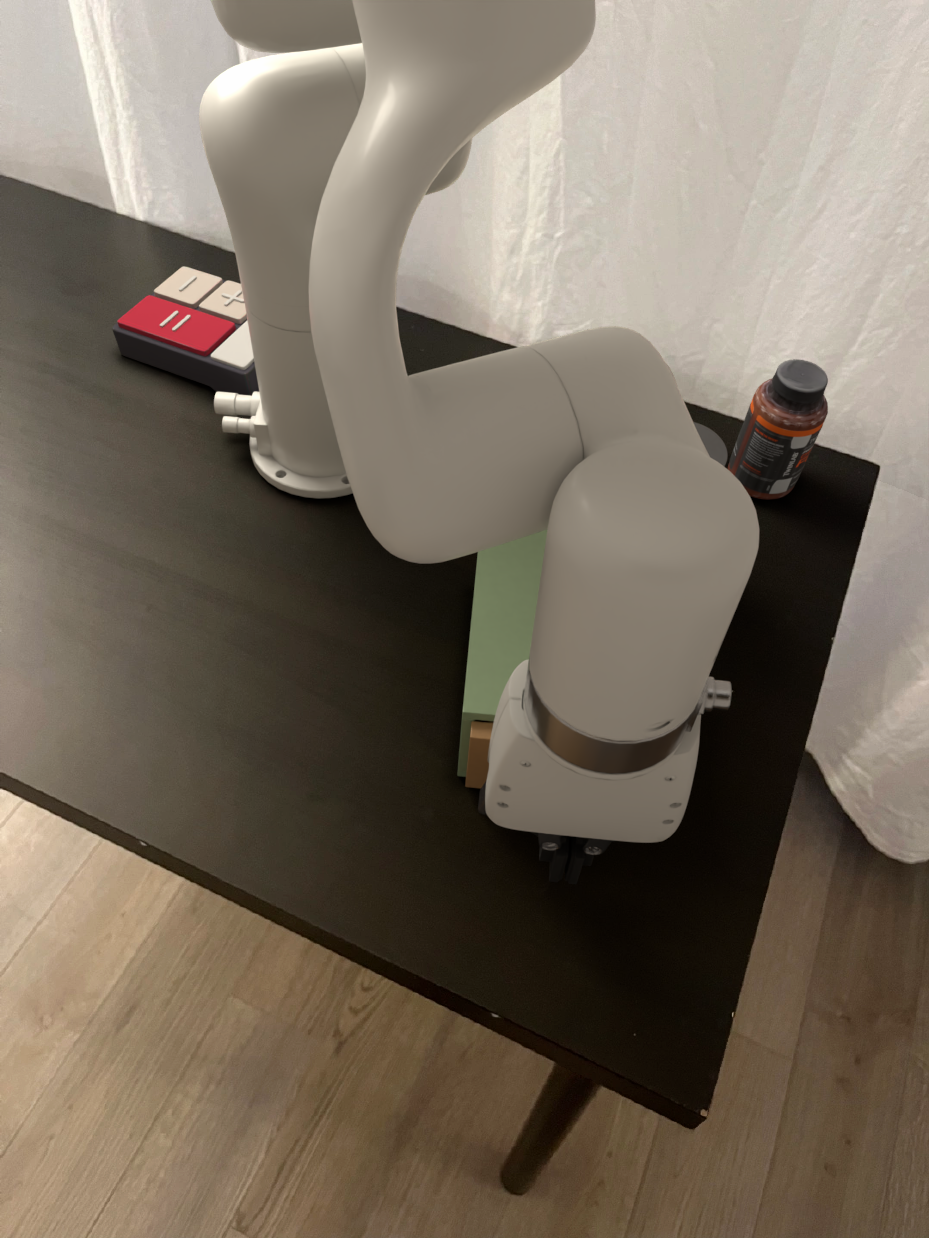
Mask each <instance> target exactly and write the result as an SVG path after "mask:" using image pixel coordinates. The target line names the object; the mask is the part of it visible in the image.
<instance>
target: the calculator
mask: <svg viewBox="0 0 929 1238" xmlns="http://www.w3.org/2000/svg"><path fill="white" fill-rule="evenodd" d="M111 329H112V333H113V335H114V339H115V341H116V344H117V347H118V350H119V352H120V355H121V356H123V357H126V358H129V359H132V360H134V361H138V362H140V363H143V364H146V365H149V366H152V367H154V368H158V369H159V370H163V371H165V372H169V373H171V374H174V375H177V376H180V377H183V378H185V379H188V380H191V381H194V382H197V383H200V384H202V385H205V386H208V387H210V388H211V389H212V390H213V391H215V393H216V392H229V393H238V394H239V395H249V396H252V394H253V392H254V391H256V392H259V387H258V381H257V375H256V369H255V363H254V357H253V351H252V345H251V339H250V333H249V327H248V321H247V315H246V309H245V303H244V299H243V293H242V287H241V283H239V282H236V281H233V280H224V279H223V278H222V277H220V276H218V275H214V274H210V273H207V272H204V271H201V270H197V269H194V268H191V267H189V266H181V267H180V268H179V269H178V270H176V271H175V272H174V273H173V274H171V275H170V276H169V277H167V278H166V279H165V280H164V281H163V282H162V283H161V284H159V285H158V286H157V287H156V288H155V289H154V290H153V292H152V293H151V294H148V295H146V296H145V297H144V298H142V299H141V300H140V301H139V302H138V303H136V304H135V305H134V306H133V307H132V308H130V309H129V310H128V311H127V312H126V313H124V314H123V315H122V316H121V317H119V318H118V319H117V320H116V323H115V324H114V325H113V326H112V327H111Z"/></svg>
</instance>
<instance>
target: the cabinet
mask: <svg viewBox="0 0 929 1238" xmlns="http://www.w3.org/2000/svg"><path fill="white" fill-rule="evenodd" d="M546 536H547V530H544V531H541V532H538V533H535V534H532V535H529V536H526V537H523V538H520V539H517V540H514V541H511V542H508V543H504V544H501V545H498V546H495V547H492V548H489V549H486V550H482V551H479V552H477V556H476V557H477V558H476V567H475V576H474V577H475V578H474V586H473V587H474V590H473V598H472V608H471V619H470V628H469V630H470V631H469V640H468V649H467V651H468V652H467V659H466V661H467V662H466V670H465V671H466V672H465V682H464V693H463V704H462V711H461V713H462V714H461V725H460V735H459V736H460V737H459V749H458V750H459V751H458V761H457V762H458V763H457V773H456V775H457V777H463V778H466V772H467V762H468V752H469V742H470V731H471V722H472V721H477V722H481V720H485V721H494V718H495V714H496V710H497V707H498V704H499V701H500V698H501V695H502V693H503V691H504V688H505V686H506V684H507V682H508V680H509V678H510V676H511V675H512V673H513V671H514V670H515V669H516V667H517V666H518V665H519V664H520V663H522V662H523V661H525V660H529V654H530V647H531V640H532V633H533V626H534V619H535V612H536V605H537V598H538V592H539V585H540V578H541V571H542V564H543V557H544V550H545V543H546Z"/></svg>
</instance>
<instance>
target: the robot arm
mask: <svg viewBox="0 0 929 1238" xmlns="http://www.w3.org/2000/svg"><path fill="white" fill-rule="evenodd" d="M210 3H211V6H212V8H213V11H214V13H215V15H216V18H217V20H218V22H219V23H220V25H221V26H222V28H223V30H224V31H225V33H226V34H227V35H228V36H229V37H230V38H231V39H233V40H234V41H235V42H236V43H237V44H239V46H242V47H244V48H247V49H248V50H252V51H254V52H259V53H267V54H271V55H266V56H262V57H258V58H253V59H250V60H246V61H244V62H242V63H238V64H236V65H232V66H231V67H229V68H228V69H227V68H226V70H225V71H223V72H221V73H220V74H218V76H216V77H215V78H214V79H213V80H212V81H211V82H210V83H209V85H208V86H207V87H206V89H205V91H204V92H203V95H202V97H201V100H200V105H199V111H198V122H199V123H198V124H199V130H200V137H201V142H202V143H201V144H202V147H203V150H204V154H205V157H206V160H207V163H208V166H209V169H210V172H211V175H212V179H213V182H214V185H215V187H216V190H217V193H218V195H219V200H220V202H221V205H222V208H223V211H224V214H225V218H226V221H227V225H228V228H229V232H230V233H229V234H230V236H231V240H232V245H233V249H234V250H233V251H234V255H235V258H236V260H235V261H236V265H237V269H238V275H239V281H240V284H241V287H242V293H243V299H244V303H245V309H246V315H247V321H248V327H249V333H250V339H251V345H252V351H253V357H254V363H255V369H256V375H257V381H258V387H259V392H256V391H254V392H253V394H252V396H249V395H239V394H238V393H229V392H216V391H215V395H214V397H213V398H214V399H213V409H214V413H215V414H216V415H221V416H222V421H221V431H222V433H227V434H228V433H229V434H247V435H249V443H248V444H249V450H250V451H249V452H250V456H251V460H252V463H253V466H254V468H255V469H256V470H257V472H258V473H259V475H260V476H261V477H262V478H263V479H264V480H265V481H266V482H267V483H269V484H270V485H271V486H273V487H275V488H276V489H278V490H280V491H283V492H285V493H287V494H290V495H294V496H299V497H301V498H310V499H335V498H338V497H339V498H341V497H344V496H345V497H346V496H348V495H352V494H353V498H354V500H355V503H356V507H357V509H358V511H359V514H360V515H361V517H362V519H363V521H364V523H365V525H366V527H367V528H368V530H369V532H370V533H371V535H372V536H373V537H374V539H375V540H376V541H377V542H378V543H379V544H380V545H381V546H382V548H384V549H385V550H386V551H387V552H388V553H389V554H391V555H393V556H395V557H397V558H398V559H401V560H403V561H407V562H410V563H415V564H421V565H422V564H425V565H426V564H428V565H429V564H430V565H431V564H438V563H444V562H447V561H451V560H455V559H459V558H462V557H466V556H469V555H472V554H476V553H478V552H479V551H482V550H486V549H489V548H492V547H495V546H498V545H501V544H504V543H508V542H511V541H514V540H517V539H520V538H523V537H526V536H529V535H532V534H535V533H538V532H541V531H544V530H547V536H546V543H545V550H544V557H543V564H542V571H541V578H540V585H539V592H538V598H537V605H536V612H535V619H534V626H533V633H532V640H531V647H530V654H529V660H525V661H523V662H522V663H520V664H519V665H518V666H517V667H516V669H515V670H514V671H513V673H512V675H511V676H510V678H509V680H508V682H507V684H506V686H505V688H504V691H503V693H502V695H501V698H500V701H499V704H498V707H497V710H496V714H495V718H494V723H493V728H492V733H491V738H490V744H489V751H488V759H487V760H488V763H489V770H488V775H487V780H486V781H485V783H484V785H483V786H482V788H479V794H478V795H479V796H478V806H477V812H478V813H479V814H481V815H483V816H487V817H488V818H489V820H490V821H491V822H492V823H494V824H495V825H497V826H499V827H502V828H505V829H510V830H515V831H521V832H529V833H530V834H532V835H534V836H535V837H538V838H537V839H538V846H539V854H538V860H539V862H545V863H546V862H547V863H549V868H548V869H549V870H548V873H549V874H548V882H550V883H559V881H562V880H563V878H564V881H565V882H567V884H569V885H577V884H578V881H579V879H580V875H581V872H582V869H583V866H586V867H588V866H589V867H591V866H592V864H593V861H594V858H595V856H600V855H602V854H604V853H605V851H606V850H607V849H608V848H609V846H610V845H611V843H613V842H627V843H642V844H644V843H645V844H647V843H648V844H649V843H651V844H652V843H659V842H664V841H665V840H667V839H668V838H670V837H671V836H672V835H674V833H676V831H677V830H678V828H679V826H680V824H681V823H682V820H683V819H684V816H685V813H686V809H687V808H688V807H687V806H688V803H689V800H690V796H691V791H692V787H693V783H694V778H695V773H696V769H697V762H698V756H699V749H700V738H701V737H700V736H701V722H702V721H701V720H702V715H704V713H705V712H707V713H711V712H712V710H717V711H728V710H729V709H730V706H731V701H732V683H731V681H730V680H724V679H723V680H722V679H715V677H714V676H712V675H711V674H710V673H711V671H712V669H713V667H714V664H715V662H716V659H717V657H718V654H719V652H720V649H721V647H722V645H723V642H724V639H725V638H726V635H727V632H728V630H729V627H730V625H731V622H732V620H733V618H734V615H735V612H736V610H737V609H738V606H739V603H740V601H741V598H742V596H743V593H744V592H745V589H746V587H747V584H748V582H749V579H750V577H751V574H752V570H753V568H754V565H755V562H756V558H757V556H758V551H759V548H760V547H759V546H760V525H759V519H758V518H759V517H758V514H757V509H756V507H755V505H754V502H753V500H752V498H751V496H749V494H748V493H747V491H746V490H745V488H744V487H743V485H742V484H741V482H740V481H739V480H738V479H737V478H736V477H735V476H734V475H733V474H732V473H731V472H730V471H729V470H728V467H726V466H725V467H724V466H723V465H721V464H720V463H719V462H717V461H716V460H714V459H712V458H710V456H709V454H708V452H707V450H706V448H705V446H704V444H703V442H702V440H701V438H700V436H699V434H698V432H697V430H696V428H695V425H694V423H693V422H694V421H693V419H692V416H691V414H690V412H689V410H688V406H687V405H686V403H685V401H684V398H683V395H682V394H681V391H680V389H679V386H678V383H677V380H676V378H675V375H674V372H673V371H672V369H671V368H670V366H669V365H668V363H667V362H666V361H665V359H664V358H663V356H662V354H661V353H660V351H659V350H658V349H657V348H656V347H655V346H654V344H653V343H652V342H651V341H650V340H649V339H647V338H646V337H645V336H644V335H643V334H641V333H640V332H638V331H636V330H634V329H631V328H629V327H624V326H619V325H618V326H617V325H609V326H599V327H594V328H588V329H584V330H579V331H576V332H572V333H567V334H564V335H560V336H557V337H553V338H549V339H546V340H545V339H544V340H542V341H538V342H535V343H530V344H527V345H522V346H517V347H513V348H509V349H506V350H501V351H497V352H494V353H488V354H485V355H482V356H478V357H477V356H476V357H474V358H470V359H466V360H463V361H458V362H454V363H450V364H447V365H443V366H439V367H436V368H435V367H434V368H432V369H428V370H424V371H420V372H416V373H412V374H409V375H408V372H407V368H406V363H405V359H404V353H403V348H402V344H401V339H400V331H399V321H398V312H397V286H398V285H397V284H398V283H397V282H398V273H399V267H400V260H401V256H402V251H403V247H404V244H405V240H406V237H407V234H408V231H409V228H410V226H411V223H412V221H413V218H414V216H415V214H416V212H417V210H418V208H419V207H420V205H421V204H422V203H421V202H422V201H423V199H424V197H425V196H428V195H432V194H435V193H439V192H441V191H443V190H446V189H447V188H449V187H451V186H452V185H453V184H455V183H456V182H457V181H458V180H459V178H460V177H461V176H462V174H463V173H464V171H465V168H466V167H467V164H468V161H469V158H470V153H471V149H472V144H473V138H474V137H475V136H477V135H478V134H479V133H481V131H482V130H484V129H485V128H487V126H488V125H490V124H492V123H493V122H495V121H497V119H498V118H500V117H501V116H503V115H504V114H506V113H507V112H508V111H510V110H511V109H514V108H515V107H516V106H518V105H519V104H520V103H523V102H524V101H525V100H527V99H529V98H530V97H531V96H533V95H534V94H536V93H537V92H539V91H540V90H542V89H543V88H545V87H547V86H548V85H549V84H551V83H552V82H553V81H555V80H556V79H557V78H559V77H560V76H561V75H563V73H564V72H566V71H567V70H568V69H570V68H571V67H572V66H573V65H574V63H575V62H577V60H578V59H579V58H580V57H581V56H582V54H583V53H584V52H585V51H586V50H587V47H588V45H590V42H591V40H592V37H593V35H594V33H595V27H596V20H597V16H596V15H597V14H596V12H597V11H596V0H210ZM272 54H274V55H272ZM238 416H247V417H250V418H243V417H242V418H241V417H238ZM563 876H564V877H563Z"/></svg>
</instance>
